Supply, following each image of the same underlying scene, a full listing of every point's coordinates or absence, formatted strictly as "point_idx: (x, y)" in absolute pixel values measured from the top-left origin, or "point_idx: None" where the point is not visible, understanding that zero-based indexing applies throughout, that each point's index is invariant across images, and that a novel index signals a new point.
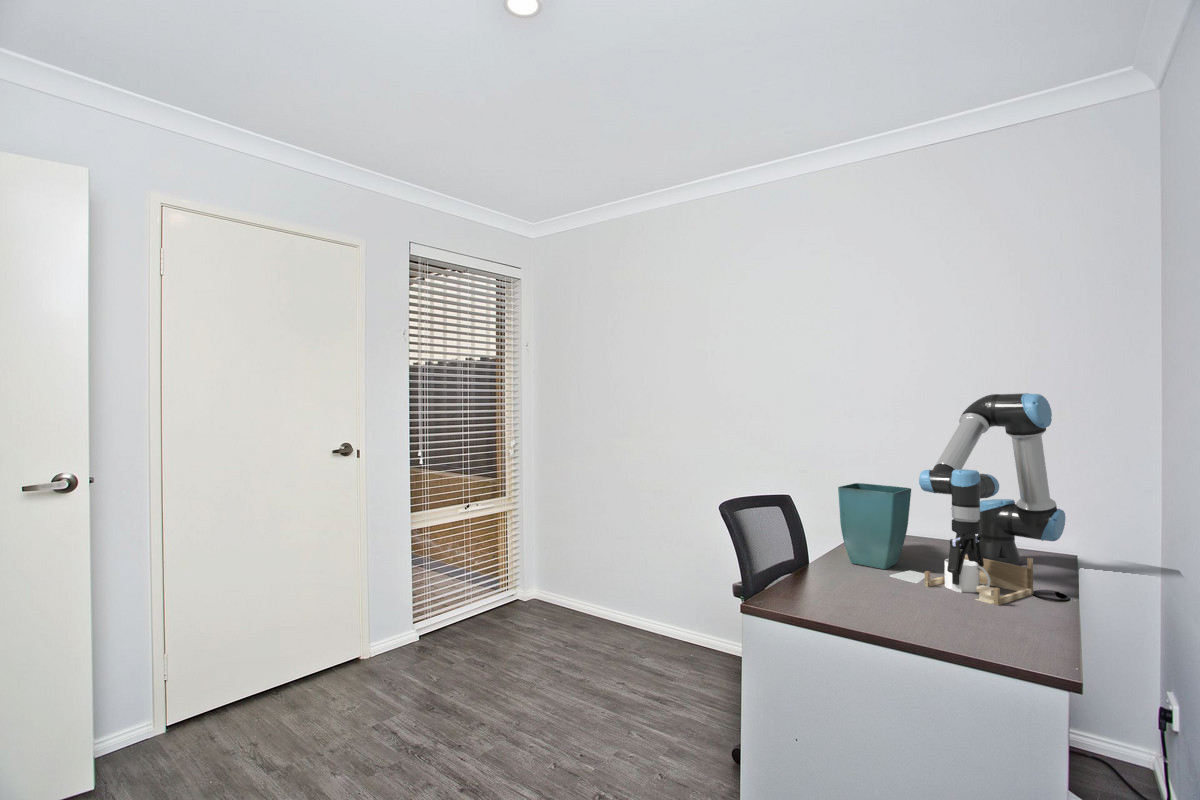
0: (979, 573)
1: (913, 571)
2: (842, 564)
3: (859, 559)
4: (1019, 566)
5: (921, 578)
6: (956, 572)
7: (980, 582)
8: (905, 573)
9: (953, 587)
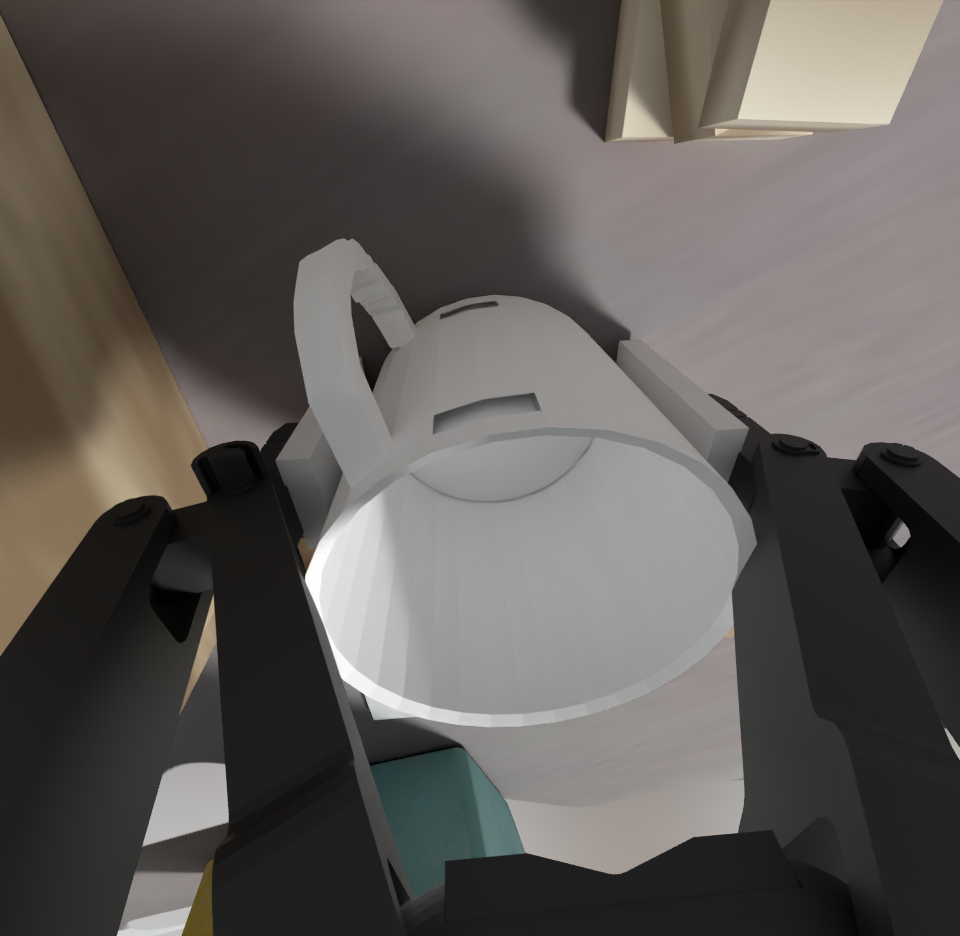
0: None
1: (379, 708)
2: (541, 798)
3: (505, 816)
4: None
5: None
6: (896, 445)
7: (180, 452)
8: None
9: None
